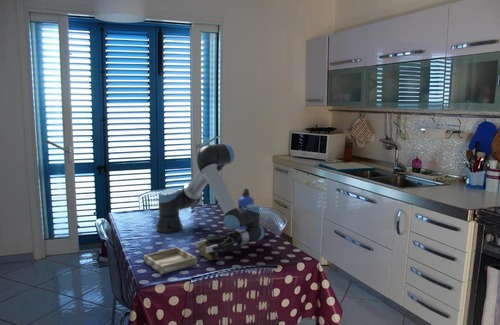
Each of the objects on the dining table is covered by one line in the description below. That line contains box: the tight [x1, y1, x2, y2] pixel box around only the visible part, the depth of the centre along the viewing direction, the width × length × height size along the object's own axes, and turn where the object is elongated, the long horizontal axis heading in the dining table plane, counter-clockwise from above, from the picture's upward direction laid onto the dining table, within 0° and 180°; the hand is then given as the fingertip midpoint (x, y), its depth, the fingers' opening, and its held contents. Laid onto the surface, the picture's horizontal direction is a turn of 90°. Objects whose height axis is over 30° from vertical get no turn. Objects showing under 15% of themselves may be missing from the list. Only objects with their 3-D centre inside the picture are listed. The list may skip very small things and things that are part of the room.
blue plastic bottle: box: [237, 188, 255, 230], centre depth 248 cm, size 9×9×25 cm
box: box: [143, 246, 198, 275], centre depth 199 cm, size 18×18×4 cm
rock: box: [198, 239, 220, 261], centre depth 207 cm, size 11×9×10 cm
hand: (201, 247), depth 203 cm, fingers closed on rock, 8 cm apart
